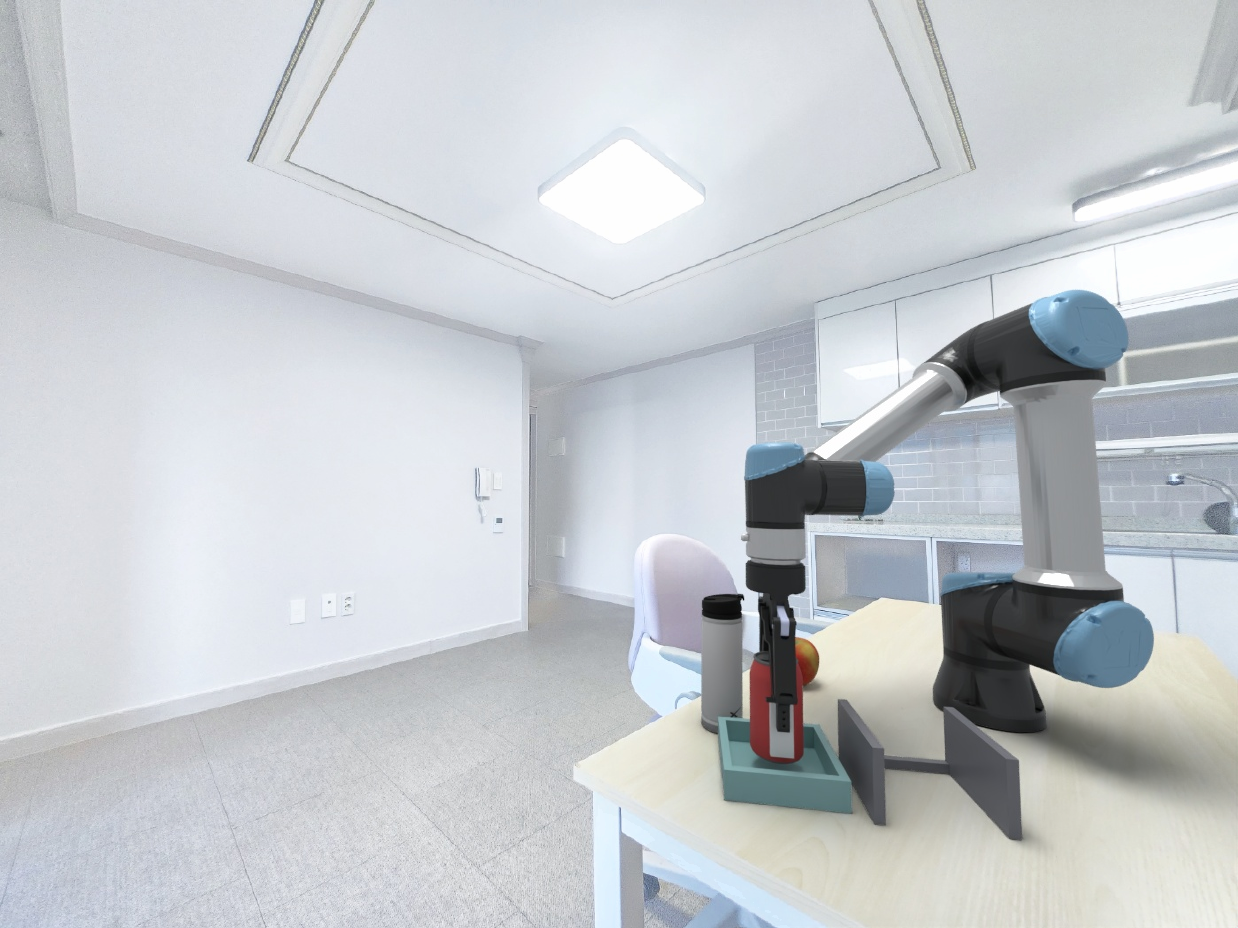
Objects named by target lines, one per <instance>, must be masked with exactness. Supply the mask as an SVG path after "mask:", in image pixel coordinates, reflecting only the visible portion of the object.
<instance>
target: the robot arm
mask: <svg viewBox="0 0 1238 928" xmlns="http://www.w3.org/2000/svg"><path fill="white" fill-rule="evenodd" d="M1129 341H1130V339H1129V331H1128V327H1127V324H1126V322H1125V319H1124V317H1123V315H1122V314H1121V313H1120V311H1119V310H1118V309H1117V308H1116V307H1115V305H1114V304H1112V303H1110V302H1109V301H1108V299H1106V297H1103V296H1102V295H1100V294H1099V293H1096V292H1093V291H1090V290H1085V289H1069V290H1064V291H1062V292H1058V293H1056V294H1053V295H1051V296H1050V295H1049V296H1043V297H1041V298H1038V299H1036V300H1035V301H1033V302H1032V303H1029V304H1027V305H1024V306H1022V307H1020V308H1019V307H1018V308H1017V309H1014V310H1012V311H1009V312H1007V313H1004V314H1002V315H1000V316H997V317H994V318H992V319H990V320H987V321H984V322H982V323H979V324H977V325H975V326H973V327H971V328H970V329H968V330H967V331H965V332H964V333H961V334H960V335H959V336H957V337H956V338H955V339H954V340H952V341H951V342H949V343H948V344H946V345H945V346H944V347H942V348H941V349H940V350H939V351H937V352H936V353H935V354H933V355H932V356H931V357H929V358H928V359H926V360H925V361H924V362H922V363H921V364H920V365H918V366H917V367H916V368H915V370H914V371H913V373H912V378H911V379H909V380H908V381H906V382H905V383H904V384H902V385H900V386H899V387H897V388H896V389H895V390H894V391H892V392H891V393H890V394H888V395H887V396H885V397H884V398H882V399H881V400H880V401H878V402H877V403H875V404H874V405H873V406H871V407H870V408H869V409H867V410H866V411H864V412H863V413H862V414H860V415H859V416H857V417H856V418H855V419H853V420H852V421H850V422H849V423H848V424H846V425H845V426H844V427H842V428H840V429H839V430H838V431H836V432H835V433H833V434H832V435H831V436H830V437H828V438H826V439H825V440H824V441H822V442H820V444H819V445H817V446H815V447H814V448H812V449H811V450H810V451H808V452H807V453H806V454H805V451H804V447H803V446H802V444H800V443H796V442H795V443H794V442H779V441H777V442H776V441H774V442H762V443H756V444H753V445H751V446H750V447H749V448H748V449H747V451H746V453H745V463H744V476H743V480H744V496H745V497H744V499H745V500H744V501H745V503H744V504H745V531H746V533H743V534H741V536H740V540H741V541H742V542H746V543H745V556H747V557H748V558H750V559H748V560H747V561H746V562H745V587H746V588H747V589H748V590H749V591H752V592H754V593H759V594H762V596H760V595H759V597H758V599H757V603H758V604H757V611H758V614H759V616H758V617H759V619H758V620H759V622H758V627H759V628H758V629H759V631H758V632H759V634H758V636H759V637H758V639H759V640H758V647H759V648H758V652H761V651H769V661H770V679H771V697H765V700H766V702H768V703H769V718H770V755H771V756H772V757H783V758H794V716H793V705H797V702H798V697H797V678H796V646H795V637H796V631H797V629H796V628H797V627H796V626H797V621H796V618H795V612H794V607H791V606H790V603H789V602H790V600H789V597H790V596H791V595H800V594H803V593H804V592H805V591H806V589H807V588H806V565H804V563H803V562H802V560H804V559H806V556H807V555H806V528H805V527H806V525H805V523H806V516H815V515H816V516H846V517H849V516H851V517H852V516H857V517H861V518H864V517H865V516H878V515H882V514H884V513H886V512H887V511H888V510H889V508H891V505H892V504H893V501H894V499H895V498H894V497H895V495H896V494H895V479H894V477H893V474H892V473H891V470H890V469H889V468H888V467H887V466H886V465H884V464H883V463H881V462H878V460H879V459H881V458H883V457H884V456H885V455H887V454H888V453H890V452H891V451H893V449H895V448H896V447H898V446H899V445H900V444H901V443H903V442H905V441H906V440H907V439H909V437H911V436H913V435H914V434H915V433H917V432H918V431H919V430H921V429H922V428H924V427H925V426H927V424H929V423H930V422H931V421H933V420H935V419H937V417H938V416H940V415H942V414H943V413H944V412H953V411H957V410H958V409H960V408H962V407H963V406H964V405H966V404H967V403H969V402H971V401H973V400H975V399H977V398H980V397H984V396H986V395H990V394H993V393H997V392H999V397H1000V398H1001V399H1003V400H1004V401H1006V403H1008V404H1010V405H1011V406H1012V407H1013V414H1014V416H1013V418H1014V429H1015V430H1014V432H1015V433H1014V434H1015V446H1016V460H1017V461H1016V462H1017V475H1018V476H1017V477H1018V489H1019V490H1018V491H1019V504H1020V506H1019V507H1020V520H1021V521H1020V522H1021V531H1022V532H1021V534H1022V536H1021V537H1022V546H1023V547H1022V548H1023V549H1022V550H1023V551H1022V552H1023V563H1024V565H1023V566H1022V567H1021V568H1020V569H1019V570H1018V571H1016V572H994V571H993V572H990V571H989V572H985V571H983V572H981V571H980V572H978V571H976V572H973V571H971V572H970V571H968V572H966V571H965V572H964V571H963V572H956V571H955V572H948V573H946V574H945V575H944V576H942V579H941V591H940V593H939V596H940V605H941V623H942V624H941V627H942V629H941V630H942V645H943V647H942V649H943V650H942V651H943V657H942V660H941V664H940V666H939V669H938V671H937V674H936V678H935V679H934V683H933V685H932V702H933V704H934V705H935V706H936V707H937V708H938V709H940V710H941V711H943V712H944V710H943V707H953V708H955V709H956V710H957V711H958V712H960V713H961V714H962V715H963V716H965V717H966V718H967V719H968V720H970V721H971V722H972V723H973V724H975V725H976V726H977V725H978V726H981V727H985V728H989V729H994V730H1000V731H1004V732H1005V731H1006V732H1014V733H1033V732H1034V733H1035V732H1040V731H1043V730H1044V729H1046V728H1047V726H1048V725H1047V724H1048V723H1047V722H1048V720H1047V711H1046V707H1045V705H1044V702H1043V700H1042V698H1041V695H1040V693H1039V691H1038V688H1037V686H1036V683H1035V680H1034V678H1033V676H1032V674H1031V666H1033V667H1034V668H1035V667H1036V668H1039V669H1041V670H1044V671H1046V672H1049V673H1052V674H1055V675H1057V676H1060V677H1061V678H1063V679H1064V680H1067V681H1071V682H1073V683H1074V682H1076V683H1082V684H1084V685H1088V686H1092V687H1095V688H1098V689H1112V688H1118V687H1122V686H1124V685H1126V684H1128V683H1130V682H1132V681H1133V680H1135V679H1136V678H1137V677H1138V676H1139V674H1140V673H1141V672H1142V671H1144V670H1145V668H1146V667H1147V666H1148V663H1149V662H1150V659H1151V657H1152V654H1153V650H1154V646H1155V645H1154V644H1155V643H1154V641H1155V635H1154V629H1153V625H1152V623H1151V621H1150V619H1148V617H1146V614H1145V613H1144V611H1142V610H1141V609H1139V608H1138V607H1136V606H1134V605H1132V604H1130V602H1125V597H1124V596H1125V595H1124V587H1123V583H1121V582H1120V581H1119V580H1118V579H1116V578H1115V577H1114V576H1113V575H1111V574H1110V573H1109V572H1108V571H1107V570H1106V559H1105V545H1104V543H1105V542H1104V535H1103V534H1104V531H1103V530H1104V529H1103V520H1102V518H1103V517H1102V507H1101V495H1100V494H1101V493H1100V484H1099V481H1100V480H1099V469H1098V457H1097V455H1098V454H1097V445H1096V444H1097V443H1096V442H1097V441H1096V430H1095V417H1094V407H1093V406H1094V404H1093V398H1094V397H1095V395H1096V394H1098V393H1099V392H1100V391H1102V390H1103V389H1104V387H1106V386H1107V376H1106V368H1109V367H1112V366H1113V365H1114V364H1116V363H1118V361H1121V359H1122V358H1123V357H1124V353H1126V351H1127V349H1128V346H1129Z"/></svg>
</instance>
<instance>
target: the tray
mask: <svg viewBox="0 0 1238 928" xmlns="http://www.w3.org/2000/svg"><path fill="white" fill-rule="evenodd" d="M803 740H804V754H803V757H802V758H801V759H800V760H799V761H797V762H795V763H792V764H777V763H772V762H769V761H766V760H764V759H762V758H760V757H759V756H757V755H756V754H755V753H754V752H753V750H752V748H751V746H750V718H732V717H719V716H718V733H717V744H718V753H719V762H720V763H719V764H720V771H721V782H722V792H723V800H724V801H731V802H732V801H733V802H740V803H749V804H759V805H767V806H779V807H785V808H786V807H787V808H797V809H806V810H814V811H815V810H817V811H823V812H825V811H826V812H835V813H845V814H853V807H852V806H853V799H852V798H853V796H852V795H853V794H852V793H853V792H852V787H853V786H852V784H851V780H850V778H849V777H848V775H847V773H846V771H845V769H844V768H843V766H842V764H841V762H840V761H839V758H838V755H837V753H836V752H835V750H834V748H833V746H832V745H831V743H830V741H829V739H828V738H827V735H826V733H825V731H824V730H823V728H822V727H821V725H820V724H817V723H806V722H805V723H804V722H803Z"/></svg>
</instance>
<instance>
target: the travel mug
mask: <svg viewBox="0 0 1238 928" xmlns="http://www.w3.org/2000/svg"><path fill="white" fill-rule="evenodd" d="M742 601H745V595H744V594H743V593H719V594H712V595H707V596H705V597H703V599H702V600H701V608H702V609H701V620H700V621H701V641H700V642H701V643H700V645H701V647H700V649H701V650H700V651H701V652H700V653H701V656H700V657H701V669H700V671H701V675H700V677H701V680H700V683H701V684H700V685H701V689H700V692H701V693H700V695H701V697H700V698H701V700H700V702H701V705H700V706H701V707H700V710H701V711H700V712H701V715H700V718H701V720H700V722H701V725H702V727H703V728H705V729H706V730H707V731H709V732H712V733H715V734H718V716H719V717H732V718H743V716H744V715H743V713H744V712H743V710H744V707H743V703H744V702H743V691H744V690H743V689H744V688H743V612H742V610H743V608H742Z"/></svg>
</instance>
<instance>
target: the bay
mask: <svg viewBox="0 0 1238 928" xmlns="http://www.w3.org/2000/svg"><path fill="white" fill-rule="evenodd" d="M943 710H944V711H943ZM943 710H942V711H943V740H944V741H943V742H944V743H943V744H944V759H935V758H923V757H922V758H921V757H910V756H900V755H890V754H887V755H886V754H885V747H884V746H883V745H882V744H881V742H880V741H879V740H878V738H877V737H876V735H874V733H873V732H872V730H871V729H870V728H869V726H867V724H866V723H865V722H864V720H863V719H862V717H861V716H860V715H859V713H858V712H857V711H856V709H854V707H853V706H852V705H851V703H850V702H849V701H848V699H842V698H840V699H839V698H837V745H838V746H837V747H838V750H837V751H838V755H837V757H838V759H839V761H840V762H841V764H842V766H843V768H844V769H845V771H846V773H847V775H848V777H849V778H850V780H851V786H852V787H853V789H854V790H855V793H856V795H857V796H858V798H859V800H860V801H861V803H862V805H863V807H864V809H865V811H866V812H867V814H868V816H869V818H870V819H871V821H872V823H873V825H877V826H878V825H879V826H886V825H887V817H886V815H887V813H886V812H887V811H886V809H887V808H886V774H885V773H886V769H889V770H898V771H899V770H900V771H910V772H911V771H912V772H921V773H934V774H944V775H949V776H951V778H952V779H953V780H954V781H955V782H956V783H957V784H958V786H959V787H961V789H963V791H964V792H965V793H966V794H967V795H968V796H969V797H970V798H971V799H972V801H974V802H975V803H976V804H977V806H978V807H979V808H980V809H981V810H982V811H983V812H984V813H985V814H986V815H987V816H988V818H989V819H990V820H991V821H992V822H993V823H994V824H995V825H996V826H997V827H998V828H999V829H1000V830H1001V832H1002V833H1003V834H1004V835H1005V836H1006V837H1007V838H1008V839H1009V840H1017V841H1023V829H1022V828H1023V826H1022V806H1021V805H1022V804H1021V802H1022V801H1021V782H1020V781H1021V778H1020V760H1019V758H1017V757H1016V756H1014V754H1012V753H1011V752H1009V750H1007V749H1006V748H1005V747H1003V746H1002V745H1001V744H999V742H997V741H996V740H995V739H994V738H992V737H991V736H989V734H987V733H986V732H985V731H984V730H982V729H981V728H980V727H978V726H977V724H974V723H972V722H971V721H970V720H968V719H967V718H966V717H965V716H963V715H962V714H961V713H960V712H958V711H957V710H956V709H955V708H953V707H943Z"/></svg>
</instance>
